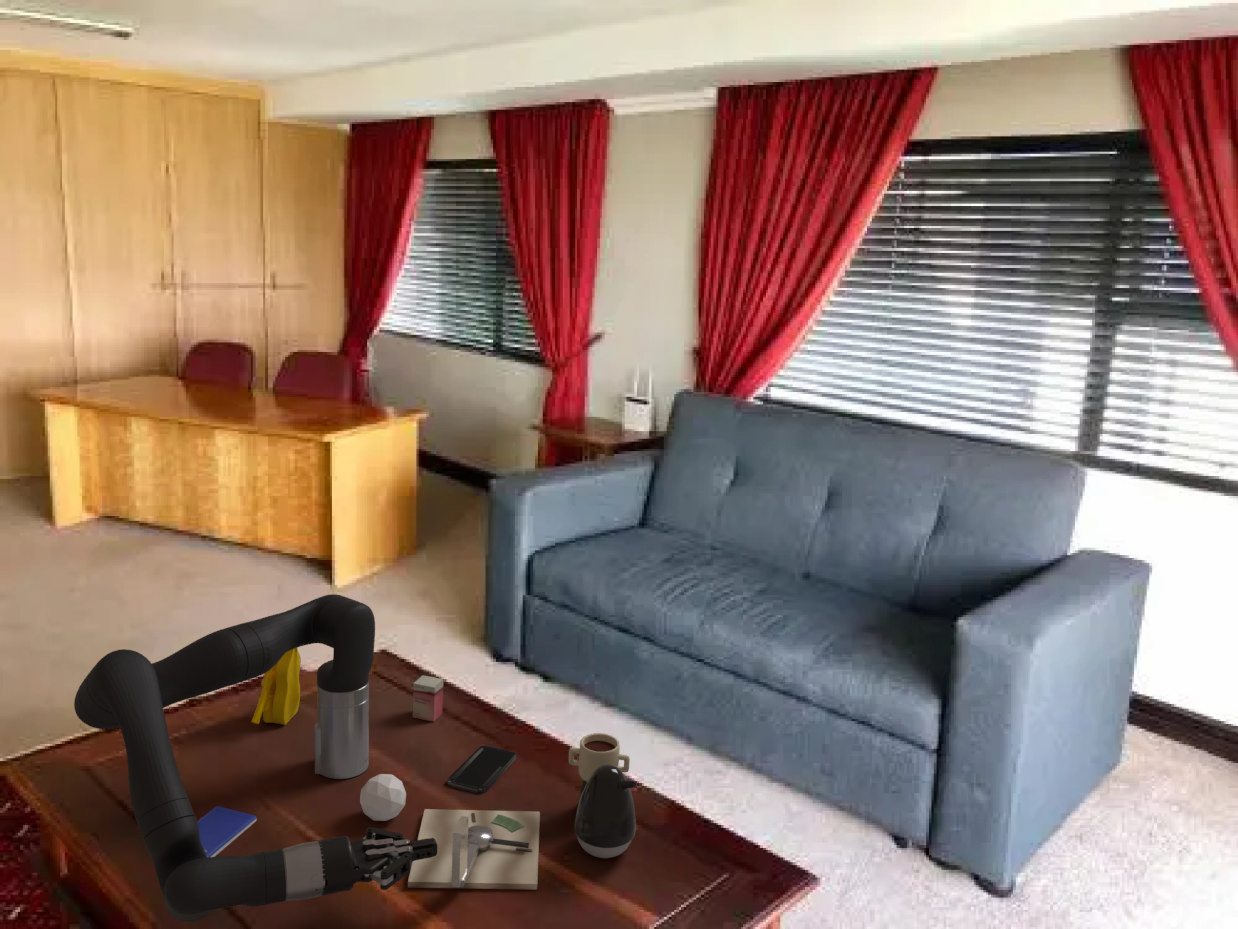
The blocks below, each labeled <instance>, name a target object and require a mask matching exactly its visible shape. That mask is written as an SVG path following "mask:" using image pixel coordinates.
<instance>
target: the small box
mask: <svg viewBox="0 0 1238 929" xmlns="http://www.w3.org/2000/svg"><path fill="white" fill-rule="evenodd" d="M412 690H413V691H412V693H413V694H412V695H413V696H412V718H414V719H420V720H422V721H423V720H424V721H428V722H435V721H437V719H439V717H441V715H442V714H443V705H444V703H443V702H444V701H443V700H444V679H443V678H437V677H434V676H429V675H422V674H421V676H420V677H419V678H417V679H416V680H415V681H414V682H413V689H412Z"/></svg>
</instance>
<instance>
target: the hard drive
mask: <svg viewBox="0 0 1238 929" xmlns="http://www.w3.org/2000/svg"><path fill="white" fill-rule="evenodd" d="M257 820H258V819H257V816H256V815H253V814H250V813H246V812H242V811H238V810H234V809H230V808H227V807H223V806H218V805H217V806H215V807H214V808H212V809H211V810H210V811H209V812H207V813H206V814H205V815H203V816H202V817H201V818H199V819H198V820H197V823H198V827H199V833H200V840H201V843H202V846H203V848H204V851H205V853H206V856H207V858H208V857H217V856H218V854H220V853H221V852H222V851H224V849H225V848H226V847H228V846H229V845H230V844H231V843H232V842H234V841H235V840H237V838H238V837H239V836H240V835H241V834H243V833H244V832H245V831H246V830H247V829H249V828H250V827H252V825H253V824H254V823H255V822H257Z"/></svg>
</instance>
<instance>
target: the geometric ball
mask: <svg viewBox="0 0 1238 929" xmlns="http://www.w3.org/2000/svg"><path fill="white" fill-rule="evenodd" d="M359 797H360V798H359V804H360V806H361V809H362V811H363V814H364V815H366V816H367V817H368V818H369V819H371V820H372V821H374V822H386V821H389V820H391V819H394V818H396V817H397V816H399V814H400V813H401V811H402V810H403V808H404V807H405V806H406V799H407V792H406V789H405V786H404V783H403V781H402V780H401V779H399V778H398V777H396V776H395V775H393V773H392V774H390V773H379V774H377V775H375V776H373V777H371V778H369V779H368V781H367V782H366V783H365V784H364V785H363V786H362V788H361V789H360V796H359Z"/></svg>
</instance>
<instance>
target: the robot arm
mask: <svg viewBox="0 0 1238 929" xmlns="http://www.w3.org/2000/svg"><path fill="white" fill-rule="evenodd" d="M375 637H376V621H375V616H374V612H373V610H372V609H371V607H370V606H368V605H367V604H366V603H364V602H361V601H359V600H355V599H352V598H350V597H347V596H344V595H341V594H334V593H333V594H332V593H331V594H326V595H323V596H320V597H317V598H314V599H312V600H310V601H308V602H305V603H303V604H301V605H298V606H296V607H293V608H292V609H288V610H286V611H283V612H279V613H276V614H271V615H268V616H265V617H262V618H259V619H255V620H251V621H247V622H243V623H239V624H235V625H232V626H228V627H225V628H222V629H219V630H216V631H213V632H210V633H208V634H206V635H204V636H202V637H200V638H198V639H197V640H195V641H193V642H191V643H189V644H188V645H186V646H184V647H182V648H181V649H179V650H177V651H176V652H173V653H172V654H170V655H168V656H167V657H164V658H162V659H161V660H157V661H156V662H152V663H151V661H150V660H149V659H148V658H147V657H146V656H145V655H143V654H142V653H140V652H138V651H136V650H133V649H125V648H124V649H116V650H113V651H111V652H109V653H107V654H105V655H104V656H103V657H102V658H100V660H99V661H97V663H96V664H95V665H94V666H93V667H92V668H91V669H90V671H89V672H88V674H87V675H86V676H85V677H84V679H83V680H82V682H81V683H80V685H79V687H78V690H77V691H76V693H75V697H74V702H73V706H74V712H75V715H76V716H77V718H78V719H79V720H80V721H81V722H82V723H84V724H85V725H87V726H88V727H91V728H94V729H99V730H114V729H120V732H121V735H122V739H123V742H124V748H125V751H126V752H125V753H126V759H127V770H128V771H127V772H128V785H129V786H128V788H129V795H130V796H129V797H130V803H131V806H132V811H133V814H134V817H135V821H136V824H137V826H138V828H139V832H140V835H141V838H142V839H143V843H144V845H145V847H146V849H147V851H148V853H149V855H150V857H151V859H152V861H153V865H154V869H155V874H156V876H157V880H158V884H159V887H160V891H161V895H162V898H163V901H164V903H165V907H166V910H167V911H168V913H169V914H170V915H171V916H172V917H173V918H174V919H176V920H177V921H180V922H183V923H195V922H198V921H201V920H203V919H204V918H206V917H208V916H209V915H210V914H211V913H212V912H213V911H214V910H219V909H225V908H231V907H234V906H235V907H236V906H240V905H241V906H246V907H260V906H266V905H272V904H277V903H278V904H279V903H282V902H285V901H287V902H288V901H289V902H290V901H300V900H308V899H313V898H319V897H322V896H327V895H328V896H329V895H334V894H339V893H344V892H345V893H346V892H348V891H351V890H352V889H353V887H354V885H355V884H356V883H361V882H362V883H370V882H372V881H373V882H376V883H378V884H380V886H379V887H380V889H381V891H382V890H383V891H386V890H388V889H390V888H391V887H392V886H393V885H395V884H396V883H397V882H399V881H400V880H401V879H402V878H404V877H405V876H406V875H407V874H410V871H411V866H412V862H413V861H415V860H420V859H424V858H425V859H426V858H431V857H433V856H436V855H437V843H436V840H435V839H434V838H429V839H421V840H418V839H417V840H412V841H411V840H410V839H405V838H404V834H402V833H400V832H396V831H390V830H385V829H381V828H377V827H373V826H372V827H371V826H369V827H367V828H366V829H365V830H366V831H365V836H364V837H362V838H357V839H356V840H352V841H351V840H350V838H349V837H348V836H346V835H342V836H338V837H337V836H336V837H331V838H325V839H318V840H315V841H308V842H302V843H297V844H294V845H291V846H287V847H284V848H278V849H272V850H267V851H262V852H256V853H254V854H253V853H252V854H248V855H246V854H245V855H228V856H226V855H225V856H215V857H208V858H207V856H206V853H205V851H204V848H203V846H202V843H201V840H200V833H199V827H198V823H197V821H198V820H197V817H196V815H195V811H194V810H193V807H192V803H191V802H190V799H189V796H188V794H187V791H186V789H185V787H184V784H183V780H182V778H181V774H180V771H179V769H178V765H177V762H176V758H175V755H174V751H173V748H172V743H171V739H170V738H171V737H170V734H169V729H168V725H167V720H166V716H165V711H164V708H166V707H168V706H171V705H173V704H176V703H179V702H182V701H185V700H189V699H193V698H196V697H199V696H203V695H206V694H209V693H212V692H214V691H218V690H220V689H223V688H228V687H231V686H233V685H234V686H235V685H237V684H240V683H243V682H246V681H249V680H252V679H255V678H257V677H260V676H262V675H265V674H264V673H266V672H268V671H269V670H270V669H271V668H273V667H274V666H275V665H276V664H277V662H278V661H279V660H280V659H281V658H282V656H283V655H284V654H285V653H286V652H288V651H289V650H292V649H294V648H297V649H298V648H300V647H303V646H308V645H312V644H322V645H323V646H327V647H328V648H329V647H330V648H332V649H333V655H332V656H333V657H332V659H330V660H328V661H326V662H324V663H322V664H321V665H320V666H319V667H318V669H317V672H316V704H317V705H316V710H317V711H316V713H317V714H316V716H317V717H316V719H317V720H316V723H315V725H314V730H313V732H314V738H313V739H314V774H315V775H322V776H323V777H325V778H329V779H335V780H343V779H346V780H347V779H351V778H354V777H357V776H359V775H361V774H363V773H364V772H366V770H367V769H368V768H369V765H370V764H369V761H370V760H369V759H370V751H369V750H370V748H369V747H370V736H369V735H370V720H369V719H370V718H369V716H370V715H369V714H370V712H369V710H370V709H369V708H370V707H369V706H370V673H371V670H372V668H373V663H374V658H375V654H374V653H375V641H376V638H375Z"/></svg>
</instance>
